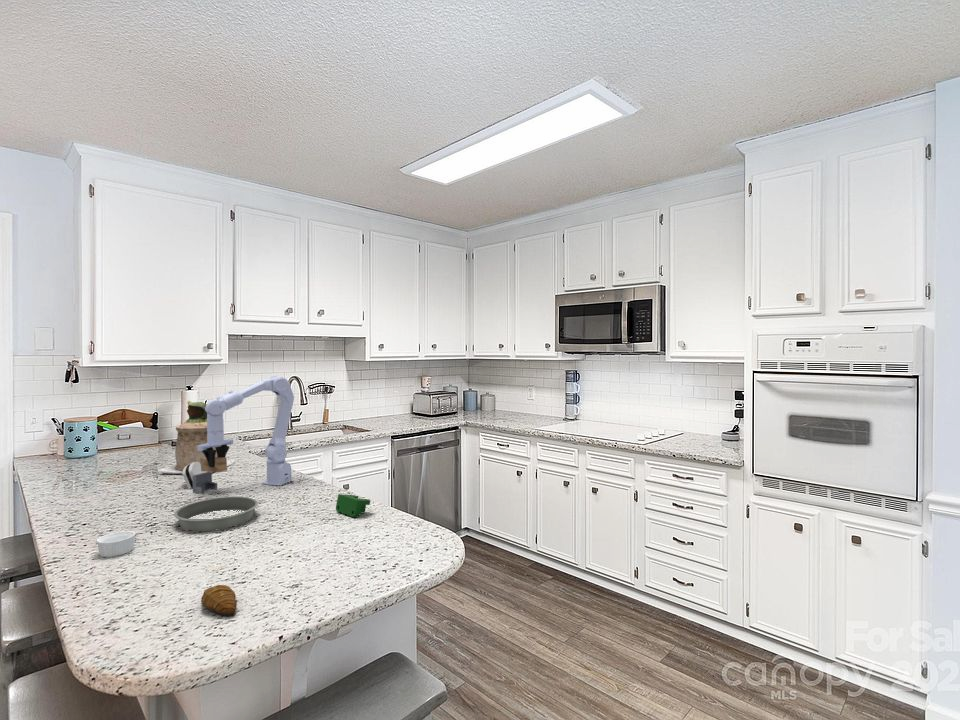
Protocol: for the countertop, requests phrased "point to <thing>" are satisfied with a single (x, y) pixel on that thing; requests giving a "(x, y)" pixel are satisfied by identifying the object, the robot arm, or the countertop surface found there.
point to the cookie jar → (191, 439)
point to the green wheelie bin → (351, 504)
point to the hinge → (191, 473)
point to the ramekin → (116, 543)
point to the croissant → (220, 600)
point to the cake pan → (216, 505)
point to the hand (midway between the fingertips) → (216, 465)
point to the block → (219, 465)
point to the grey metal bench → (203, 482)
